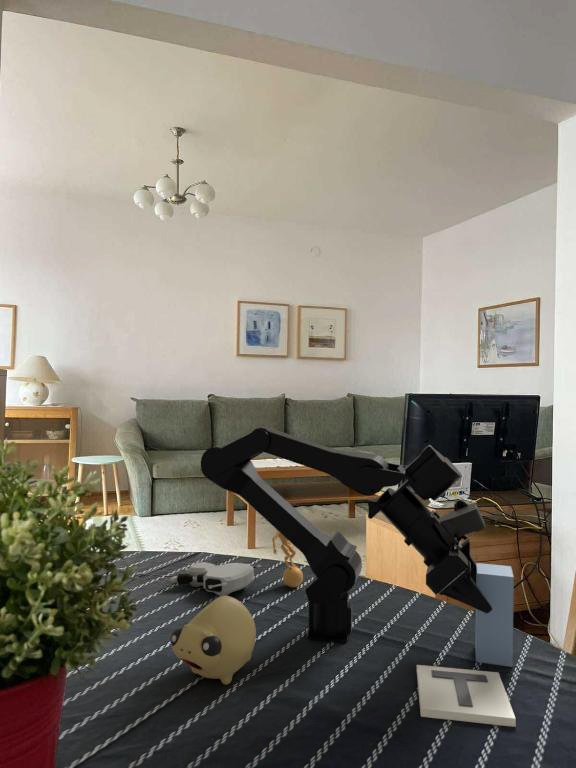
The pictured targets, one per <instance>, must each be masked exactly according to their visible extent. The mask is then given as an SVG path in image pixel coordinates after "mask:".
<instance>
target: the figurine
mask: <svg viewBox="0 0 576 768" xmlns="http://www.w3.org/2000/svg"><path fill="white" fill-rule="evenodd" d="M277 538H279V539H280V542H281V546H280V548H281V550H282V552H283V553H284V555H285V556H284V563H285V565H286V566H287V568H286V569H284V571H283V575H282V580H283V583H284V584H285V585H286V586H288V587H289V588H297V587H299V586H300V585H301V584H302V582H303V580H304V574H303V571H302V570H301V569H300V568H299V567H298V565H296V564H295V563H294V562H293V560H292V559H293V558H294V557H295V556H296V550H295V549H294V547H293V544H292V543H291V542H290V541H289V540H288V539H287V538H286V537H284V536H283V535H282V534H281V533H280V532H279V531H278V530H277V529H276V533H275V534H274V535H273V537H272V538H271V539H272V540H271V541H272V549H273V555H275V556H276V555H277V554H278V550H277V549H276V539H277ZM288 560H289V562H290V563H289V562H288Z"/></svg>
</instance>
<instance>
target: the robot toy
mask: <svg viewBox="0 0 576 768" xmlns="http://www.w3.org/2000/svg"><path fill="white" fill-rule="evenodd" d="M261 567H262V565H261V564H258V565H255V566H252V565H251V564H249V563H240V562H231V563H225V564H222V565H221V564H220V565H218V566H217V565H215V564H214V563H212V562H209V561H208V562H207V561H205V562H204V561H202V562H197V563H194V564H192V565H190V566H188V567H185V568H184V573H179V574H177V576H175V575H174V576H171V577H170V578H169V582H170V583H177V585H191V586H192V587H194V586H195V588H199V587H203V588H204V590H206V592H211V593H214V594H215V595H217V596H218V597H220V596H229V595H230V594H231V593H233V592H236V591H237V592H238V591H239V590H242V589H244V588H246V587H248V586H249V585H250V584H251V583H252V582H253V581H254V580H255V572H254V571H255V570H254V569H255V568H261Z"/></svg>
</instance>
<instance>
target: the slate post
mask: <svg viewBox="0 0 576 768" xmlns="http://www.w3.org/2000/svg"><path fill="white" fill-rule="evenodd" d="M475 563H476V585H477V586H478V588H479V589H480V591H481V592H482V593H483V595H484V596H485V598H486V599H487V601H488V602H489V604H490V605H491V607H492V610H491V611H490V612H489V613H484V612H482V611H480V610H478V609H476V608H475V636H474V637H475V638H474V639H475V642H474V643H475V645H474V646H475V647H474V649H475V662H476V663H483V664H489V665H497V666H503V667H510V668H513V650H514V640H513V639H514V584H515V581H514V578H515V577H514V574H513V573H514V571H513V569H512V566H511V565H502V564H501V565H500V564H490V563H480V562H475Z"/></svg>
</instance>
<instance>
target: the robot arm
mask: <svg viewBox="0 0 576 768" xmlns="http://www.w3.org/2000/svg"><path fill="white" fill-rule="evenodd" d="M263 453H266V454H268V455H271V456H275V457H277V458H280V459H283V460H287V461H289V462H293V463H295V464H298V465H301V466H304V467H306V468H310V469H313V470H315V471H319V472H320V473H321V472H322V473H325V474H327V475H329V476H331V477H333V478H334V479H336V481H338V482H339V483H340V484H342V485H344V486H346V487H347V488H349V489H351V490H353V491H355V492H356V493H358V494H359V495H360V494H361V495H362V496H368V497H369V496H374V495H376V494H378V493H380V492H381V491H382V490H383V489H384V488H387V489H386V490H385V491H384V492H383V493H381V494H380V495H379V496H378V497H377V498H369V499H368V500H367V506H368V507H367V508H368V512H367V513H368V514H367V517H368V519H369V520H371V519H374V517H375V516H377V515H378V514H379V512H380V513H381V514H382V515H383V516H384V517H385V518H386V519H387V520H388V521H389V522H390V523H391V524H392V525H393V527H394V528H395V529H396V530H397V531H398V532H399V533H400V534H401V535H402V536H403V537H404V541H403V542H404V543H405V544H406V545H407V547H410V546H412V547H413V548H414V549H415V550H416V551H417V552H418V553H419V554H420V555H421V557H423V563H424V565H425V566H426V573H425V585H426V586H427V587H428V588H429V590H430V591H431V592H432V593H433V594H434V595H438V594H439V596H446V597H448V598H451V599H453V600H455V601H457V602H460V603H462V604H465V605H467V606H469V607H471V608H474V609H475V610H476V609H478V610H480V611H482V612H484V613H489V612H490V611H491V610H492V607H491V605H490V604H489V602H488V601H487V599H486V598H485V596H484V595H483V593H482V592H481V591H480V589H479V588H478V586H477V585H476V563H477V562H476V561H475V559H474V558H473V556H472V555H471V547H470V546H471V542H470V541H471V539H470V538H468V536H469V534H471V533H473V532H475V533H479V532H481V531H483V530H484V529H486V524H485V523H486V522H485V519H484V518H483V515H482V514H481V512H480V509H479V508H478V504H477V503H474V502H472V503H469V502H468V501H466V500H465V499H464V498H461V499H459V500H455V501H454V505H453V509H454V510H453V511H452V510H451V511H448V513H446V514H444V515H441V514H440V513H439V512H438V511H437V510H435V511H434V510H433V509H432V510H430V509H429V508H428V507H427V506H426V505H425V504H424V503H423V502H422V501H421V500H420V499H419V498H418V496H419V497H420V498H421V499H422V500H423V501H429V500H430V499H431V500H433V501H435V502H436V501H437V500H438V499H439V498H441V496H442V495H444V494H445V493H446V492H447V491H448V490H449V489H451V488H452V486H454V485H455V484H456V483H457V482H458V481H459V480H460V479H461V478H463V475H462V473H461V472H460V470H459V469H458V468H457V467H456V466H455V465H454V464H453V463H452V462H451V460H449V458H448V457H446V456H443V455H442V454H441V453H440V452H439V451H438V450H436V449H435V448H434V447H433V446H432V445H431V444H428V445H427V446H426V447H425V448H424V449H423V450H422V451H421V453H420V454H419V455H418V456H417V457H416V458H415V459H414V460H413V461H412V462H411V463H410V464H408V465H405V464H404V465H403V464H397V463H392V462H387V460H386V459H385V458H384V457H383V456H381V455H379V454H375V453H368V452H362V451H361V452H360V451H350V450H341V449H335V448H332V447H330V446H326V445H322V444H320V443H317V442H313V441H310V440H308V439H305V438H301V437H298V436H295V435H292V434H290V433H286V432H283V431H280V430H277V429H276V428H274V427H272V426H268V425H266V426H262V427H258V428H255V429H254V430H252V432H250V433H248V434H246V435H245V436H243V437H240V438H239V439H237V440H235V441H233V442H231V443H224V444H220V445H216V446H213V447H210V448H208V449H206V450H205V451H204V452H203V454H202V455H201V459H200V471H201V474H202V475H203V477H205V478H206V479H207V480H209V481H210V482H211V483H212V484H213V483H214V484H215V485H216V486H218V487H220V488H221V489H223V490H226V491H228V492H230V493H233V494H235V495H238V496H240V497H241V498H242V499H243V500H244V501H245V502H246V503H247V504H248V505H250V506H251V507H252V508H253V509H254V510H255V511H256V512H257V513H258V514H259V515H260V516H262V518H264V519H265V520H266V521H267V522H268V523H269V524H270V525H271V526H273V527H274V529H276V531H277V530H278V531H279V532H280V533H281V534H282V535H283V536H284V537H286V538H287V539H288V542H291V545H292V546H294V547H295V548H296V549H298V551H300V553H302V555H303V556H304V558H305V560H306V563H307V564H308V566H309V568H310V570H311V572H312V573H313V574H314V577H313V578H312V580H311V581H310V583H309V584H308V585H307V587H306V588H305V590H304V591H305V595H306V597H307V600H308V621H307V622H308V628H307V633H306V637H305V638H306V639H307V640H313V641H315V640H316V641H326V642H337V643H347V642H348V640H349V635H351V634H352V630H353V603H352V602H351V601H350V593H349V592H350V590H351V589H353V587H354V585H355V584H356V582H357V580H358V578H359V576H360V575H361V572H362V569H363V564H362V557H361V556H360V554H359V552H358V551H357V549H358V546H357V545H355V544H352V543H351V542H349V541H348V540H347V538H345V536H344V535H343V534H342V533H341V532H340V531H336V532H335V534H333V536H331V535H329V534H326V533H324V532H322V531H321V530H320V529H319V528H317V527H316V525H314V524H313V523H312V522H311V521H309V520H308V519H307V518H306V517H305V516H304V515H302V514H301V513H300V512H299V510H297V509H296V507H294V506H293V505H292V504H290V503H289V502H288V501H287V500H286V499H285V498H284V497H283V496H281V494H279V493H278V492H277V491H276V490H275V489H273V488H272V486H271V485H269V484H268V483H267V482H266V481H265V480H264V479H263V478H262V477H261V476H260V474H259V473H258V472H257V469H256V467H255V465H254V464H253V461H252V460H253V459H255V458H257V457H258V456H260V455H261V454H263ZM404 479H407V480H405V481H404ZM402 481H404V482H403V483H402V484H401V485H400V486H399V487H398V488H397V489H395V490H394V489H393V488H391V487H395V486H398V485H399V484H400V483H401V482H402ZM408 486H409V487H410V488H411V489H412V490H413V491H412V490H411V489H410V488H409V487H408ZM461 540H463V542H461Z"/></svg>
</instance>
